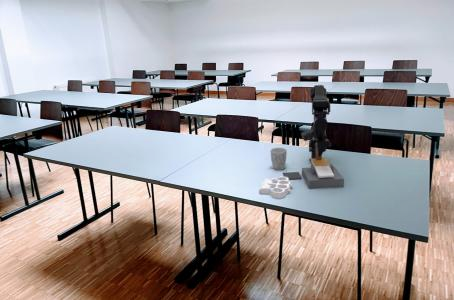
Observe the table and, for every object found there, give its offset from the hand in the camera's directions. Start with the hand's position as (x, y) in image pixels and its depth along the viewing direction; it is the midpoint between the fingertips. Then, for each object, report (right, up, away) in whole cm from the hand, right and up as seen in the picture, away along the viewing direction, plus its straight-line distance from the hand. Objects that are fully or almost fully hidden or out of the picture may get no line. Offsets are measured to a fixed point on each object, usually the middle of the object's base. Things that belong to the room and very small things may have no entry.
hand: (318, 155), depth 169 cm
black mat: (-12, -11, +4) cm, 17 cm away
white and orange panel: (0, -6, -5) cm, 8 cm away
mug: (-16, -7, +17) cm, 25 cm away
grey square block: (+1, -12, -3) cm, 13 cm away
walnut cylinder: (0, -2, +1) cm, 2 cm away
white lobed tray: (-22, -16, -9) cm, 29 cm away
